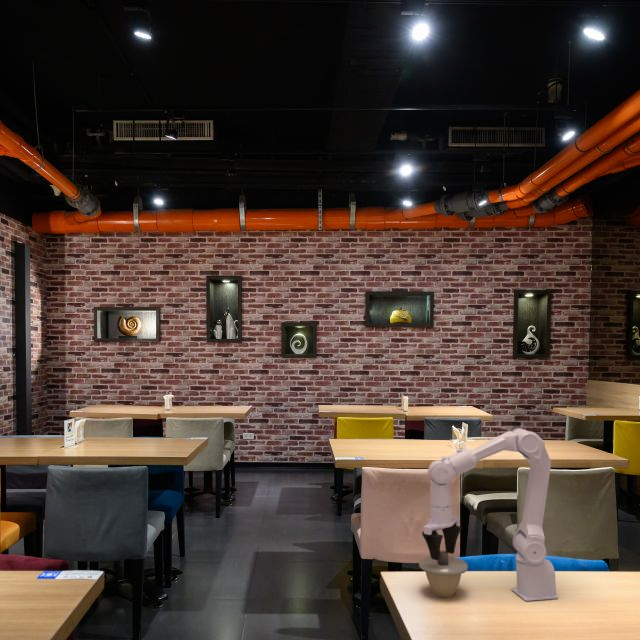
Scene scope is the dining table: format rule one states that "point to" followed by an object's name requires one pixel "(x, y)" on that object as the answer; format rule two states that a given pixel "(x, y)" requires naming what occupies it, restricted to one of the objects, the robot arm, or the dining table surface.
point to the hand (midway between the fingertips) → (442, 555)
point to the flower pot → (443, 584)
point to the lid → (443, 565)
